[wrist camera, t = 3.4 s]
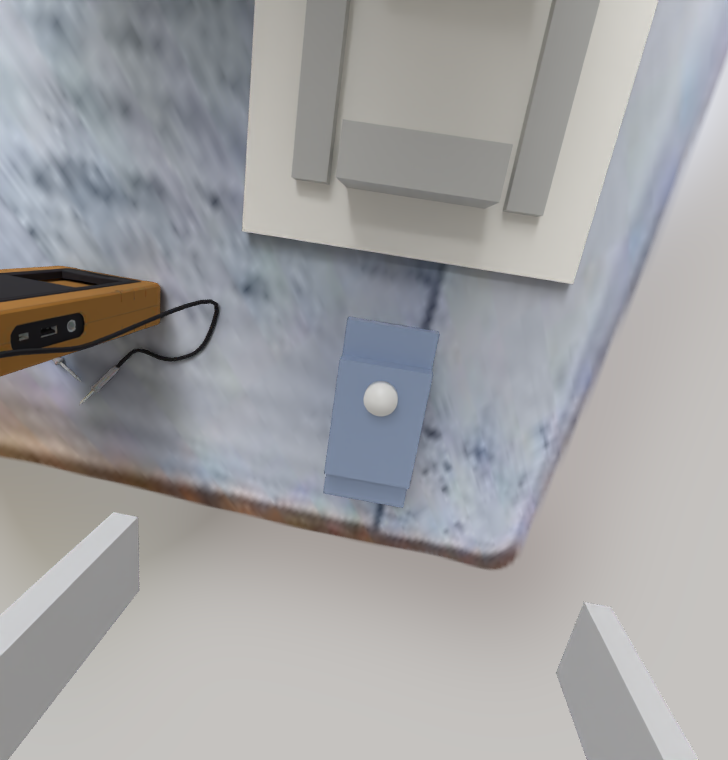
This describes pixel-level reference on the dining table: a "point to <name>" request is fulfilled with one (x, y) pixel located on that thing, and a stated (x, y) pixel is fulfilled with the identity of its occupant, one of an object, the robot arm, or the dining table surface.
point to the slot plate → (439, 125)
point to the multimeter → (74, 315)
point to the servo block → (378, 410)
